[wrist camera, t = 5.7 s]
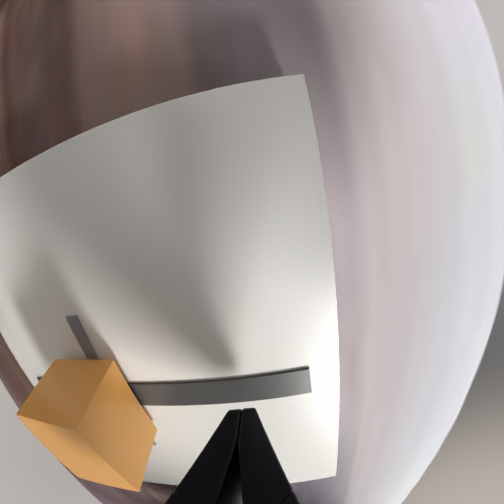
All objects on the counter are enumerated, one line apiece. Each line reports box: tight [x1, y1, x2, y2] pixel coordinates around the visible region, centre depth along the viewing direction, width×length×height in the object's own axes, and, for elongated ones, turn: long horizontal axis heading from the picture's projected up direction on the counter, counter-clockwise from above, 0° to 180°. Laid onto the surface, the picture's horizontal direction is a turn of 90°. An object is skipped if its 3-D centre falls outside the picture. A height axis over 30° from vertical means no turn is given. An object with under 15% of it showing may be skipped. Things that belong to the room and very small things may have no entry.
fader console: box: [0, 74, 339, 485], centre depth 11 cm, size 18×14×3 cm
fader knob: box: [17, 359, 157, 492], centre depth 8 cm, size 4×3×3 cm
